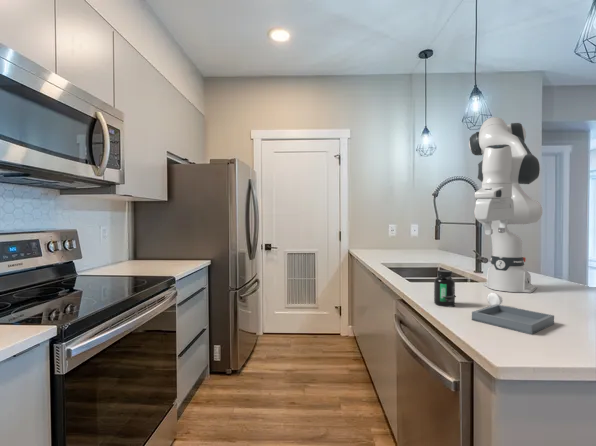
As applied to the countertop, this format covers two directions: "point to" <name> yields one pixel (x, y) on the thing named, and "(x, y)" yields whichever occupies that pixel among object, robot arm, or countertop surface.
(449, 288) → the supplement bottle
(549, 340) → the countertop surface
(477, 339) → the countertop surface
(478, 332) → the countertop surface
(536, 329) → the tray
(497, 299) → the small white bowl
